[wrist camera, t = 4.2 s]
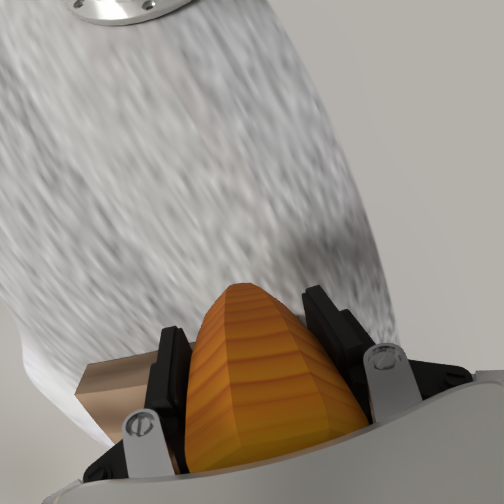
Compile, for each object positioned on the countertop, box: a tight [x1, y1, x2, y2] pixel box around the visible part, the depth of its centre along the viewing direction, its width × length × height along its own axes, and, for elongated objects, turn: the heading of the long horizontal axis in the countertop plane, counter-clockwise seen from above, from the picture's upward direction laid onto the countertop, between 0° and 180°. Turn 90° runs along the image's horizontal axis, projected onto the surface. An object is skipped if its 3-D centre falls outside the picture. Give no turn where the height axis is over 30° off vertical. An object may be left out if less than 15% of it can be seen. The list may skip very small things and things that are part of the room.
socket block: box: [74, 342, 196, 445], centre depth 24 cm, size 18×18×4 cm
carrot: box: [185, 283, 369, 473], centre depth 9 cm, size 5×5×15 cm
